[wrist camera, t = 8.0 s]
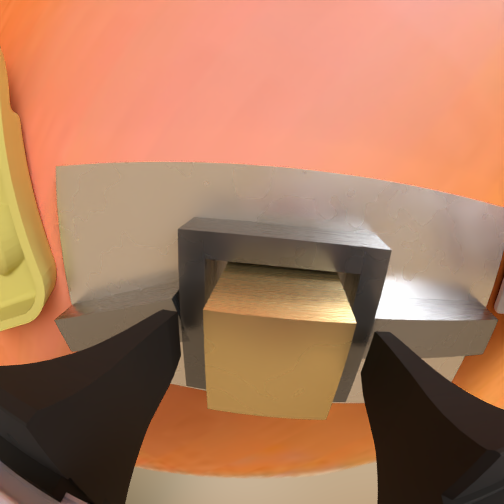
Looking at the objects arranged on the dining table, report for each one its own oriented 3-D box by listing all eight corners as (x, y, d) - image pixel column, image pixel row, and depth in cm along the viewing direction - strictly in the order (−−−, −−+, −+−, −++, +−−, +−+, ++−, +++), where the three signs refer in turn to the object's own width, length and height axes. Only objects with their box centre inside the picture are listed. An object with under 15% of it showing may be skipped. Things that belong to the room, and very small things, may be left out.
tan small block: (331, 258, 12) (356, 323, 7) (317, 338, 13) (325, 419, 8) (234, 249, 12) (203, 309, 7) (232, 330, 13) (207, 408, 9)
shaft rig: (501, 206, 11) (536, 219, 8) (437, 387, 15) (452, 418, 12) (67, 164, 13) (28, 171, 10) (93, 351, 17) (71, 378, 14)
